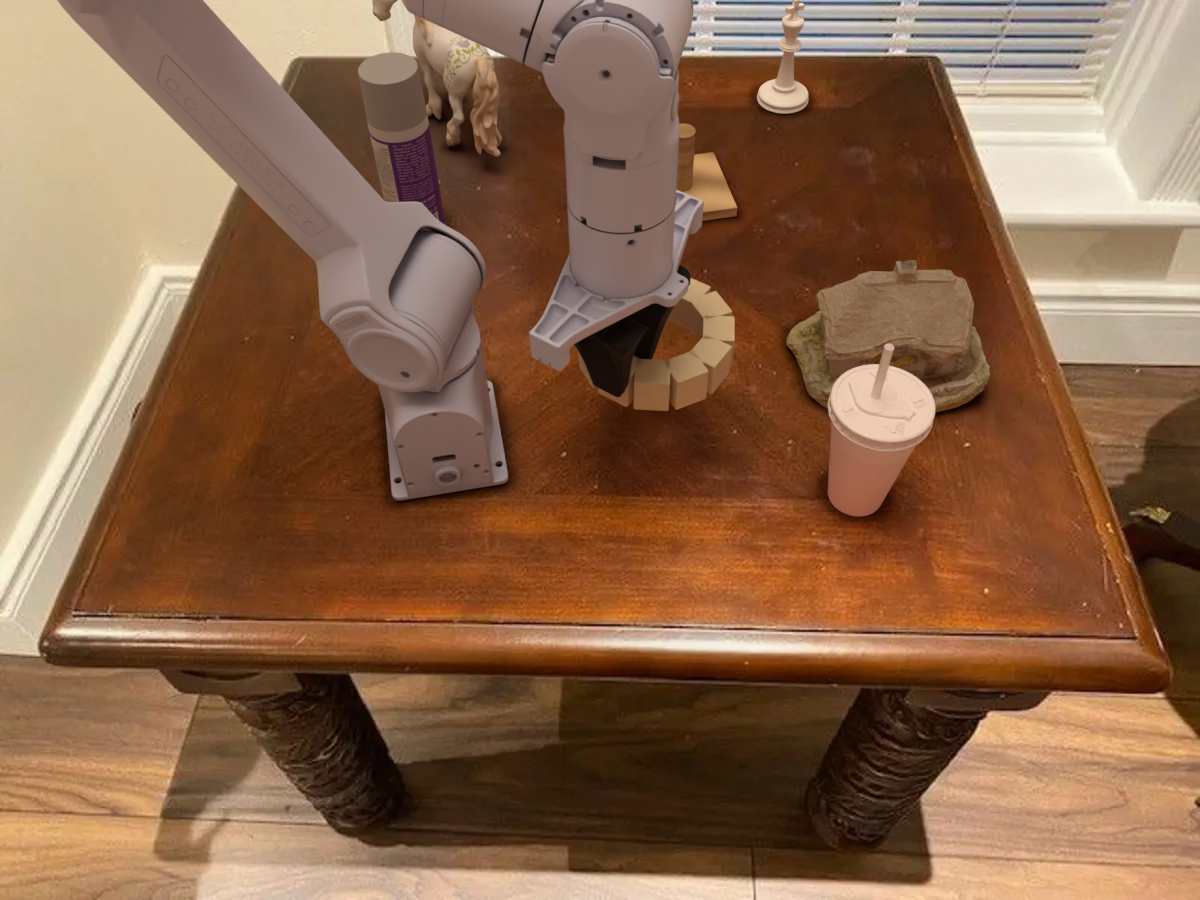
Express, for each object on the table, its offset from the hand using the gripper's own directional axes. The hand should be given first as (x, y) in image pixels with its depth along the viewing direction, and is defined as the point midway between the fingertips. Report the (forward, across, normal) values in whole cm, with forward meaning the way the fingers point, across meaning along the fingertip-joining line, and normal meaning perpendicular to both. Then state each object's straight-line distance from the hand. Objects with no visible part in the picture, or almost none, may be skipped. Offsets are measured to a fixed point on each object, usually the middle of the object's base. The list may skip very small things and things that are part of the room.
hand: (621, 374), depth 65 cm
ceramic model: (+10, +19, -11) cm, 24 cm away
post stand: (+9, +28, +13) cm, 32 cm away
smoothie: (+10, +7, -15) cm, 19 cm away
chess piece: (+10, +45, +12) cm, 48 cm away
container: (+10, +11, +29) cm, 32 cm away
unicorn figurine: (+10, +22, +37) cm, 45 cm away
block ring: (+1, +4, 0) cm, 4 cm away
